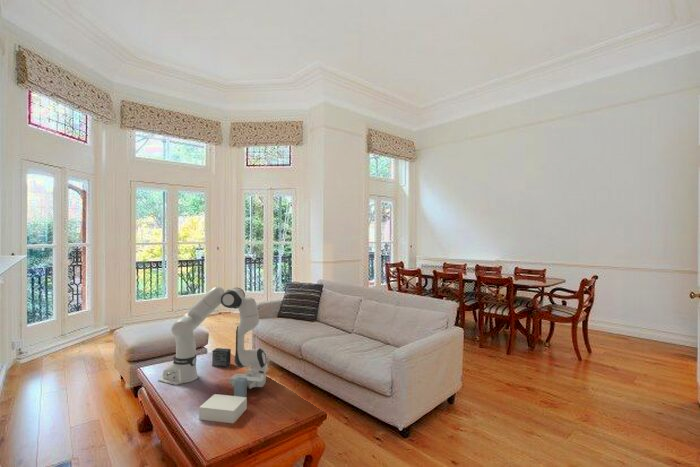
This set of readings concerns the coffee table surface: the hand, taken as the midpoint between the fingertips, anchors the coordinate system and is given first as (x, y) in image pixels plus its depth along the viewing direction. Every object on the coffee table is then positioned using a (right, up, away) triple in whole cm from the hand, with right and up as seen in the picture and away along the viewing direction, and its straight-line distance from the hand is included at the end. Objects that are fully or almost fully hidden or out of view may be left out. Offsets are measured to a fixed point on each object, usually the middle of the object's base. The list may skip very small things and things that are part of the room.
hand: (241, 386), depth 195 cm
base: (-3, -5, -19) cm, 20 cm away
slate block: (0, -5, -1) cm, 6 cm away
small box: (-27, -5, +45) cm, 53 cm away
